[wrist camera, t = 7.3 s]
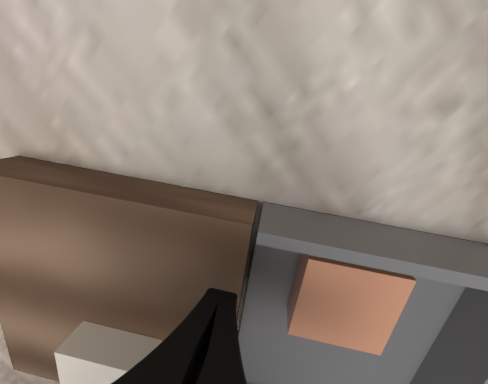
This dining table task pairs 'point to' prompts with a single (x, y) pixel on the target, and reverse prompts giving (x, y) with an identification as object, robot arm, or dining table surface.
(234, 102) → the dining table surface
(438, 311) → the box
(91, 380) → the cream tile
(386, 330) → the terracotta tile
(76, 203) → the walnut platform
